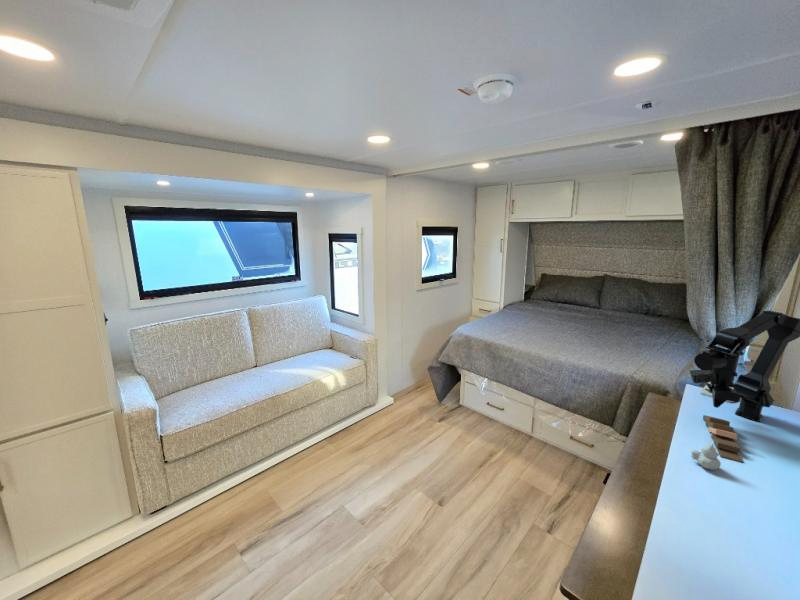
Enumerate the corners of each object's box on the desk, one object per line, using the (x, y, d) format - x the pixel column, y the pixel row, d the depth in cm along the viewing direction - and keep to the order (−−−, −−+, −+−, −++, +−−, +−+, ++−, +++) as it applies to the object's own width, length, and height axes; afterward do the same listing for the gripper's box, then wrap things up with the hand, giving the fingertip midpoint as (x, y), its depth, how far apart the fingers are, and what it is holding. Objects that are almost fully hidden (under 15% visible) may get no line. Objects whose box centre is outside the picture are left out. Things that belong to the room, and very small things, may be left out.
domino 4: (711, 432, 110) (718, 442, 103) (732, 437, 107) (740, 448, 101) (711, 437, 110) (717, 447, 103) (731, 442, 107) (739, 453, 101)
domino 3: (708, 426, 113) (716, 429, 107) (728, 431, 111) (737, 434, 104) (708, 431, 113) (715, 434, 106) (728, 435, 110) (737, 439, 104)
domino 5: (714, 441, 107) (720, 456, 101) (734, 446, 105) (743, 461, 98) (713, 445, 108) (719, 460, 101) (733, 450, 105) (742, 466, 98)
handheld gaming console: (699, 391, 137) (709, 381, 146) (699, 394, 138) (708, 384, 146) (732, 401, 129) (740, 389, 138) (732, 404, 130) (740, 393, 138)
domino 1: (703, 414, 120) (710, 417, 113) (721, 419, 117) (729, 421, 111) (702, 419, 120) (709, 421, 113) (721, 423, 117) (729, 426, 110)
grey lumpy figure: (719, 476, 93) (724, 452, 91) (688, 465, 98) (693, 441, 96) (719, 466, 97) (724, 442, 95) (689, 455, 101) (694, 433, 100)
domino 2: (706, 420, 117) (713, 423, 110) (725, 424, 114) (733, 427, 107) (705, 425, 117) (712, 427, 110) (724, 429, 114) (733, 432, 107)
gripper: (689, 353, 125) (682, 390, 129) (699, 371, 110) (691, 412, 114) (729, 359, 120) (720, 397, 123) (746, 379, 104) (735, 422, 108)
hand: (715, 406), depth 117 cm, fingers closed
